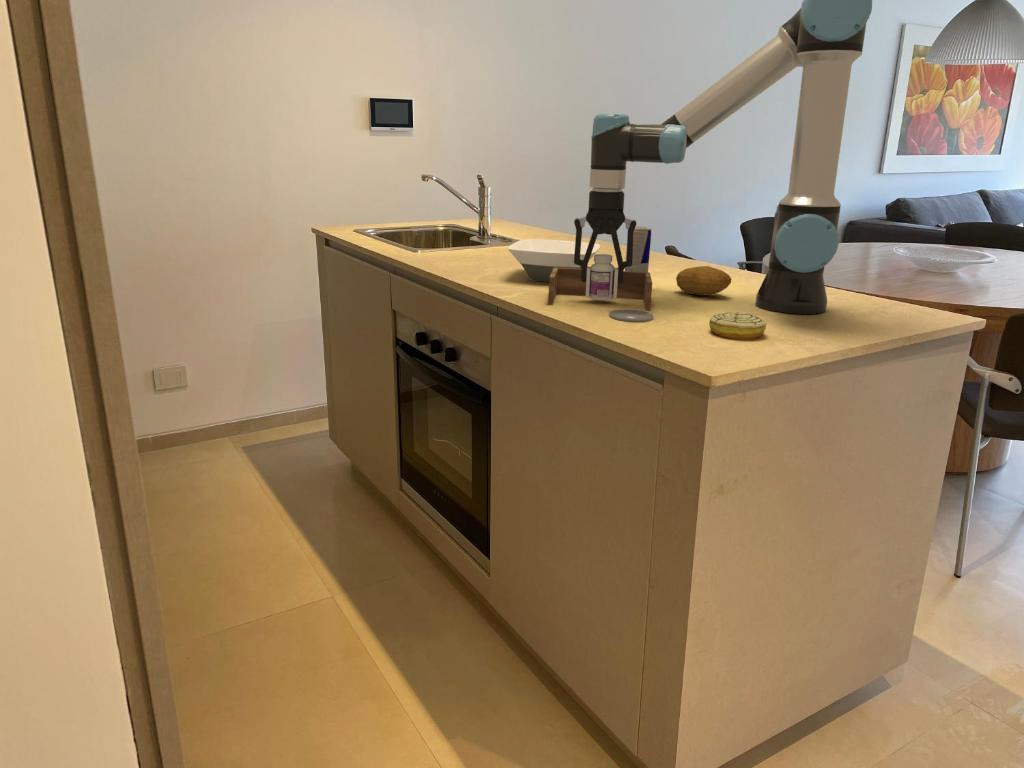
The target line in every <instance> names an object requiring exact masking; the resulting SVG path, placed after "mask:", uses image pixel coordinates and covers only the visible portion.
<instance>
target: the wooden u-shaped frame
mask: <svg viewBox="0 0 1024 768" xmlns="http://www.w3.org/2000/svg"><path fill="white" fill-rule="evenodd" d="M581 275H582V269H574V268H555V267H554V269H553V271H552V273H551V275H550V277H549V282H548V295H547V296H548V297H547V300H548V301H547V303H548V304H547V306H553V305H554V303H555V300H556V297H557V295H568V296H585V297H586V282H582V280H581ZM652 291H653V280H652V277H651V272H649V271H648V272H631V271H625V270H624V271H623V282H622V284H621V283H617V298H619V299H620V298H621V299H622V298H623V299H637V300H639V299H640V300H643V305H644V309H645V312H649V311H651V305H652V304H651V303H652V293H653V292H652Z"/></svg>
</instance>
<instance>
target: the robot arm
mask: <svg viewBox="0 0 1024 768" xmlns="http://www.w3.org/2000/svg"><path fill="white" fill-rule="evenodd" d="M872 9H873V0H802V2H801V7H800V8H799V10H797V12H795V14H794V15H793V16H791V18H789V19H788V21H786V22H785V23H783V24H782V25H780V26H779V28H778V33H777V35H776V36H775V37H773V38H772V39H771V40H770V41H768V42H767V43H765V44H764V45H762V47H760V48H759V49H758V50H756V51H755V52H753V54H751V55H750V56H749V57H747V58H746V59H745V60H743V61H742V62H741V63H740V64H738V65H737V66H735V67H734V68H733V69H731V70H730V71H729V72H727V73H726V74H725V75H724V76H722V77H721V78H719V80H717V81H716V82H714V83H713V84H712V85H711V86H709V87H708V88H707V89H705V90H703V92H701V93H700V94H699V95H698V96H696V97H695V98H694V99H693V100H691V101H690V102H689V103H687V104H686V105H684V106H683V107H682V108H681V109H679V110H678V111H676V112H675V113H674V114H673V115H671V116H670V117H669V118H667V119H666V120H665V121H663V122H662V123H661V124H635V123H631V121H630V116H629V114H626V113H598V114H596V115H595V116H594V118H593V124H592V125H593V126H592V131H591V132H592V133H591V149H590V151H591V152H590V153H591V154H590V171H589V188H590V189H592V190H590V191H589V193H588V211H587V213H586V215H585V216H581V217H576V218H575V219H574V220H573V223H574V227H575V253H574V264H576V265H579V266H581V268H582V275H581V280H582V282H586V296H585V299H586V298H587V299H590V297H589V289H590V269H591V266H588V265H589V262H590V260H591V259H590V256H591V253H592V250H593V247H594V244H595V243H596V241H597V238H598V235H604V234H605V235H609V236H610V237H611V240H612V245H613V248H614V253H615V259H616V262H617V267H614V268H615V275H614V292H613V298H612V299H614V300H617V298H618V297H617V283H621V284H622V282H623V271H625V268H626V267H630V266H632V259H633V232H634V229H635V227H636V226H637V224H638V223H637V221H636V220H635V219H630V218H628V217H626V216H625V212H624V209H625V206H624V205H625V192H624V191H623V190H624V189H625V188H626V176H627V175H626V174H627V162H631V163H635V162H639V163H652V164H653V163H655V164H656V163H657V164H658V163H659V164H660V163H661V164H666V165H667V164H679V163H683V161H684V160H685V156H686V152H687V151H686V149H687V148H689V147H690V146H692V145H693V144H694V143H695V142H696V141H698V140H699V139H701V138H702V137H704V136H705V135H706V134H707V133H709V132H710V131H712V130H713V129H714V128H715V127H717V126H719V124H721V123H722V122H724V121H725V120H727V119H728V118H729V117H731V116H732V115H733V114H735V113H736V112H737V111H739V110H740V109H742V108H743V107H744V106H745V105H747V104H749V103H750V102H751V101H753V100H754V99H755V98H756V97H758V96H759V95H760V94H762V93H763V92H765V91H766V90H767V89H769V88H770V87H772V86H773V85H774V84H776V83H777V82H778V81H779V80H781V79H782V78H784V77H785V76H786V75H788V74H789V73H790V72H792V71H793V70H794V69H796V68H797V67H802V72H801V73H802V74H801V75H802V76H801V81H800V82H801V83H800V92H799V99H798V106H797V107H798V108H797V117H796V125H795V131H794V140H793V141H794V142H793V149H792V158H791V165H790V174H789V182H788V190H787V191H788V192H787V194H786V195H785V196H784V197H783V198H781V199H780V200H779V202H778V204H777V206H776V210H775V212H774V224H773V225H774V226H773V230H772V237H771V247H770V254H769V261H768V268H767V272H766V274H765V277H764V278H763V281H762V283H761V285H760V287H759V289H758V291H757V293H756V296H755V304H754V305H756V306H757V307H759V308H762V309H765V310H768V311H772V312H779V313H786V314H793V315H794V314H795V315H814V314H815V315H817V314H816V313H818V314H823V313H825V312H826V311H827V307H828V296H827V290H826V284H825V281H824V280H825V279H824V271H825V267H826V266H827V265H828V264H829V263H830V262H831V261H832V259H833V258H834V257H835V255H836V254H837V251H838V249H839V242H840V239H839V233H838V227H839V221H840V212H841V208H842V207H841V206H842V204H841V203H840V202H841V201H839V200H838V199H837V197H836V196H835V189H836V181H837V177H838V176H837V175H838V169H839V168H838V166H839V160H840V152H841V145H842V138H843V131H844V123H845V117H846V116H845V115H846V109H847V101H848V94H849V87H850V79H851V73H852V66H853V64H854V62H856V61H857V60H858V58H860V57H861V56H862V55H863V49H864V42H865V37H866V34H865V33H866V30H867V23H868V20H869V19H870V16H871V14H872ZM585 223H588V225H589V227H590V229H592V232H591V234H590V235H591V236H590V238H589V242H588V243H589V244H588V248H587V251H586V254H585V257H584V260H581V259H580V251H581V242H582V239H583V238H582V237H583V228H584V227H585V225H586V224H585ZM623 223H624V224H625V229H626V230H627V236H626V237H627V240H626V249H627V261H626V260H625V261H623V260H624V259H623V256H622V255H623V254H622V250H621V245H620V241H619V237H618V236H619V235H618V232H617V231H618V230H619V229H620V227H621V226H622V225H623ZM589 259H590V260H589ZM824 311H825V312H824ZM822 312H823V313H822Z"/></svg>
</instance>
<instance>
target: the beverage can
mask: <svg viewBox="0 0 1024 768" xmlns="http://www.w3.org/2000/svg"><path fill="white" fill-rule="evenodd" d="M651 241H652V227H649V226H642V225H641V226H638V225H636V227H635V229H634V232H633V259H632V266H630V267H626V268H625V269H624V271H631V272H649V267H650V252H651V244H652V243H651ZM625 249H626V252H625V261H627V248H625Z"/></svg>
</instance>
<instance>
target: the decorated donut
mask: <svg viewBox="0 0 1024 768" xmlns="http://www.w3.org/2000/svg"><path fill="white" fill-rule="evenodd" d="M708 324H709V328H710V331H711V332H712V333H713V334H714V335H717V336H719V337H721V338H726V339H731V338H732V340H742V339H751V340H754V339H758V338H760V337H761V336H762V335H763V334H764V332H765V331H766V329H767V325H768V323H767V322H766V321H765V320H763V319H762V318H760V317H759V316H757V315H754V314H750V313H749V314H748V313H743V312H739V311H738V312H737V311H728V312H723V313H720V312H719V313H716V314H713V315H711V316H710V317H709V323H708Z"/></svg>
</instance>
